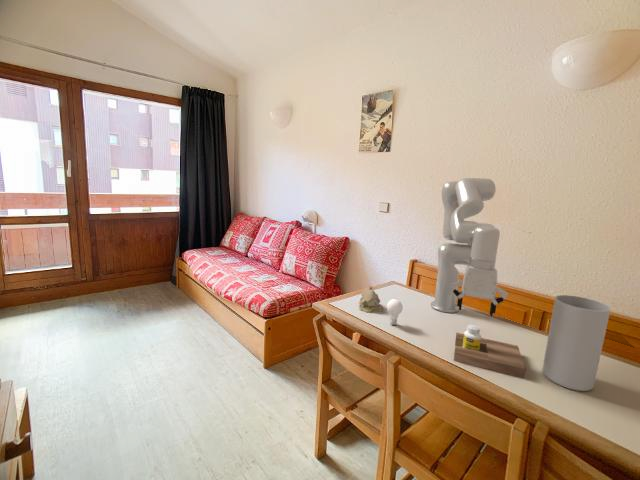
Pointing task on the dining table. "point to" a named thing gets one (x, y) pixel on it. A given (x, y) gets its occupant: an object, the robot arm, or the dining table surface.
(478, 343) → the supplement bottle
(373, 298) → the ceramic model
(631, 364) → the dining table surface
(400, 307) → the lightbulb
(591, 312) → the cylinder vase
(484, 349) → the notched board
